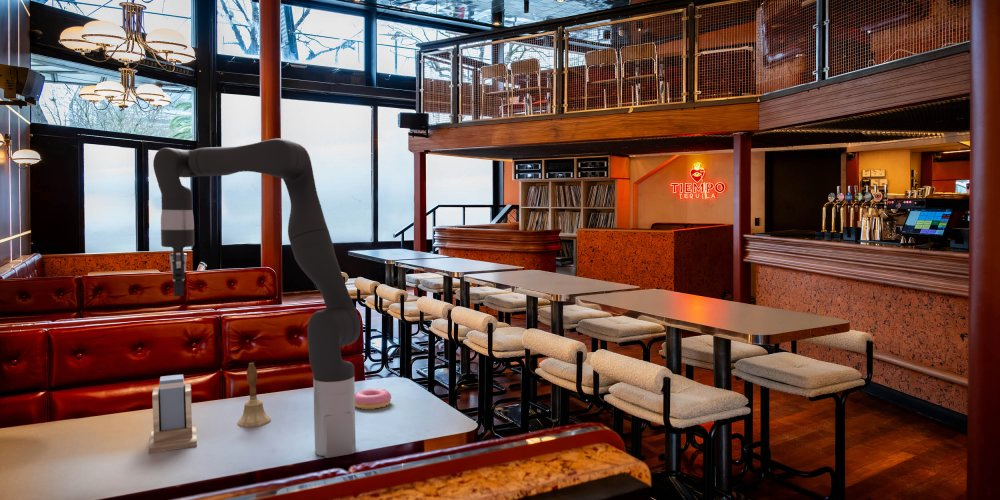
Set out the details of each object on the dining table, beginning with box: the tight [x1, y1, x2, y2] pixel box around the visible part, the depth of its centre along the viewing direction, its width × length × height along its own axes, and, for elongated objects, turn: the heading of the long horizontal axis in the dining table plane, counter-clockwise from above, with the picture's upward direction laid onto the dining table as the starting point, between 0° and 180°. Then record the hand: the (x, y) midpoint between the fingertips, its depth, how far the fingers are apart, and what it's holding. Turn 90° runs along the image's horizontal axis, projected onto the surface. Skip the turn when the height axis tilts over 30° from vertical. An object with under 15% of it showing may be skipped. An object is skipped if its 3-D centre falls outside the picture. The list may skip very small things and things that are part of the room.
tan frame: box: [148, 383, 198, 454], centre depth 156 cm, size 14×10×13 cm
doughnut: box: [355, 388, 392, 410], centre depth 185 cm, size 11×11×4 cm
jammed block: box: [159, 374, 185, 431], centre depth 156 cm, size 5×5×14 cm
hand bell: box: [237, 362, 271, 428], centre depth 170 cm, size 8×8×16 cm
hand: (178, 295), depth 163 cm, fingers closed
